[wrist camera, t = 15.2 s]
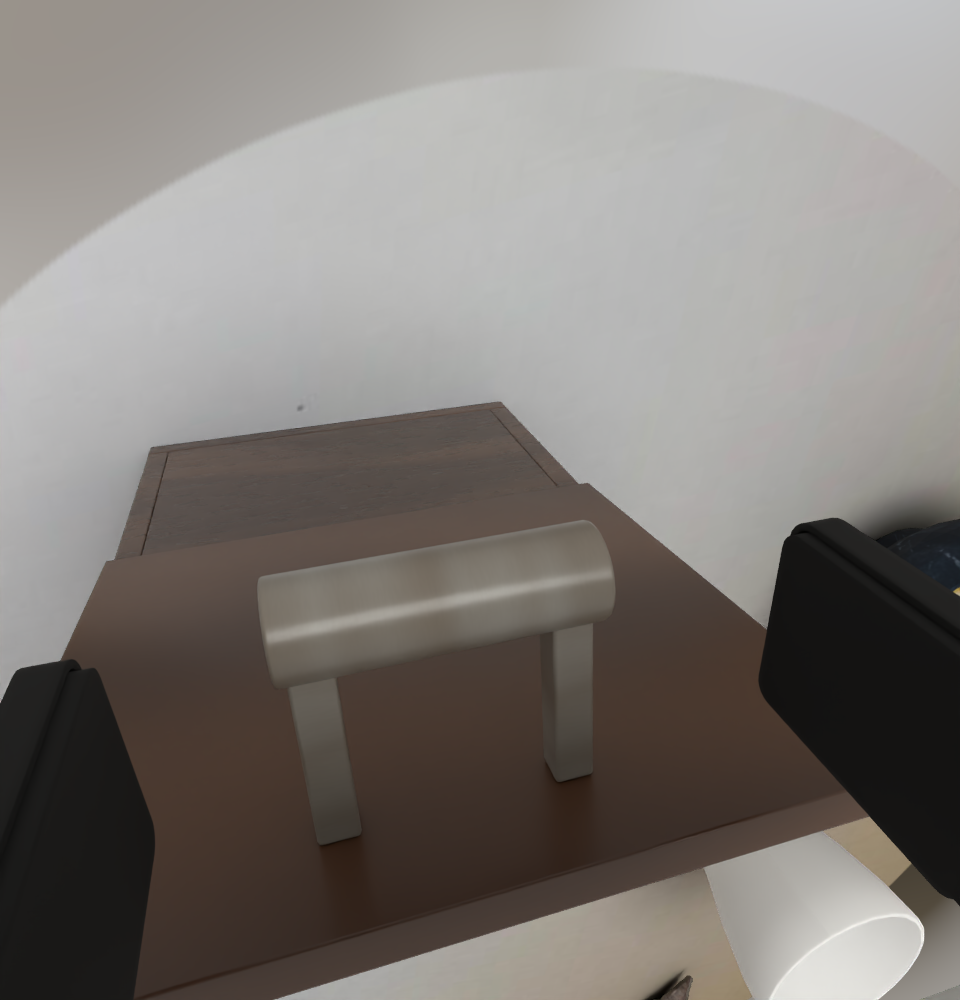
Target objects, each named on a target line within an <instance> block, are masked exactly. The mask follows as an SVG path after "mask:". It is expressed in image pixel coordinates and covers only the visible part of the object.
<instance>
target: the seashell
mask: <svg viewBox="0 0 960 1000" xmlns="http://www.w3.org/2000/svg"><path fill="white" fill-rule="evenodd" d="M692 982H693V978H692V977H691V976H686V977H685V978H684V979H683V980H682V981H680V982H679V983H678V984H677V985H676V986H675V987H673V989H671V991H670V992H669V993H666V994H665V995H663V997H662V998H661V999H653V1000H688V996H689V991H690V987H691V983H692Z"/></svg>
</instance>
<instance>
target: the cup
mask: <svg viewBox="0 0 960 1000" xmlns="http://www.w3.org/2000/svg"><path fill="white" fill-rule="evenodd" d="M704 870H705V872H706V875H707V878H708V881H709V883H710V887H711V890H712V893H713V896H714V900H715V903H716V906H717V909H718V913H719V916H720V919H721V922H722V925H723V928H724V930H725V933H726V935H727V938H728V940H729V943H730V945H731V948H732V951H733V953H734V956H735V958H736V961H737V963H738V966H739V968H740V971H741V974H742V976H743V979H744V980H745V982H746V984H747V986H748V988H749V990H750V992H751V994H752V996H753V998H754V1000H878V999H879V998H881V997H882V996H883V995H884V994H885V993H886V992H888V991H889V990H890V989H891V988H892V987H893V986H894V985H896V983H897V982H898V981H899V980H900V979H901V978H902V977H903V976H904V975H905V974H906V973H907V971H908V970H909V969H910V967H911V966H912V964H913V963H914V961H915V960H916V958H917V957H918V955H919V953H920V950H921V948H922V945H923V942H924V927H923V925H922V924H921V922H920V920H919V918H918V917H917V916H916V915H915V914H914V913H913V912H912V911H911V910H910V909H909V908H908V907H907V906H906V905H905V904H904V903H903V902H902V901H901V900H900V899H899V898H898V897H897V896H896V895H895V894H894V893H893V891H891V889H890V888H889V887H888V886H887V885H886V884H885V883H884V882H883V881H882V880H881V879H879V878H878V877H877V876H876V875H875V874H874V873H872V872H871V871H870V870H869V869H868V868H867V867H865V866H864V865H863V864H862V863H861V862H860V861H858V860H857V859H856V858H855V857H854V856H853V855H851V854H850V853H849V852H848V851H847V850H846V849H844V848H843V847H842V846H841V845H840V844H839V843H837V842H836V841H835V840H833V839H832V838H831V837H829V836H828V835H827V834H825V833H824V832H823V831H821V832H817V833H814V834H811V835H808V836H804V837H801V838H798V839H795V840H791V841H788V842H785V843H782V844H778V845H775V846H772V847H769V848H765V849H762V850H759V851H756V852H752V853H749V854H746V855H743V856H739V857H736V858H733V859H730V860H726V861H723V862H720V863H717V864H713V865H710V866H707V867H704Z"/></svg>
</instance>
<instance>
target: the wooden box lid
mask: <svg viewBox="0 0 960 1000" xmlns="http://www.w3.org/2000/svg"><path fill="white" fill-rule="evenodd" d="M766 633H767V629H765V628H764V627H763V626H762V625H760V624H759V623H758V622H757V621H756V620H754V619H753V618H752V617H751V616H749V615H748V614H747V613H746V612H745V611H743V610H742V609H741V608H740V607H739V606H737V605H736V604H735V603H734V602H732V601H731V600H730V599H729V598H728V597H726V596H725V595H724V594H723V593H721V592H720V591H719V590H718V589H717V588H715V587H714V586H713V585H712V584H710V583H709V582H708V581H707V580H706V579H704V578H703V577H702V576H701V575H699V574H698V573H697V572H696V571H695V570H693V569H692V568H691V567H690V566H689V565H687V564H686V563H685V562H684V561H682V560H681V559H680V558H679V557H678V556H676V555H675V554H674V553H673V552H671V551H670V550H669V549H668V548H667V547H665V546H664V545H663V544H662V543H660V542H659V541H658V540H657V539H656V538H654V537H653V536H652V535H651V534H650V533H648V532H647V531H646V530H645V529H643V528H642V527H641V526H640V525H639V524H637V523H636V522H635V521H634V520H632V519H631V518H630V517H629V516H628V515H626V514H625V513H624V512H623V511H621V510H620V509H619V508H618V507H617V506H615V505H614V504H613V503H612V502H611V501H609V500H608V499H607V498H606V497H604V496H603V495H602V494H601V493H600V492H598V491H597V490H596V489H595V488H593V487H592V486H591V485H590V484H589V483H584V484H578V485H571V486H565V487H559V488H553V489H547V490H541V491H535V492H529V493H522V494H516V495H510V496H504V497H498V498H492V499H486V500H480V501H473V502H467V503H461V504H455V505H449V506H443V507H437V508H431V509H424V510H418V511H412V512H406V513H400V514H394V515H388V516H382V517H375V518H369V519H363V520H357V521H351V522H345V523H339V524H333V525H326V526H320V527H314V528H308V529H302V530H296V531H290V532H283V533H277V534H271V535H265V536H259V537H253V538H247V539H241V540H234V541H228V542H222V543H216V544H210V545H204V546H198V547H192V548H185V549H179V550H173V551H167V552H161V553H155V554H149V555H143V556H136V557H130V558H124V559H118V560H112V561H107V562H106V563H105V565H104V567H103V569H102V571H101V574H100V576H99V578H98V580H97V582H96V584H95V587H94V589H93V591H92V593H91V595H90V597H89V600H88V602H87V604H86V606H85V608H84V610H83V613H82V615H81V617H80V619H79V621H78V623H77V626H76V628H75V630H74V632H73V634H72V637H71V639H70V641H69V643H68V645H67V647H66V650H65V652H64V654H63V656H62V658H61V660H60V661H63V660H68V659H73V660H76V661H77V662H78V663H79V665H80V667H81V669H87V668H95V669H96V670H97V671H98V673H99V675H100V677H101V680H102V682H103V685H104V688H105V691H106V693H107V696H108V699H109V702H110V705H111V707H112V710H113V713H114V716H115V718H116V721H117V724H118V727H119V729H120V732H121V735H122V738H123V740H124V743H125V746H126V749H127V751H128V754H129V757H130V760H131V762H132V765H133V768H134V771H135V774H136V776H137V779H138V782H139V785H140V787H141V790H142V793H143V796H144V798H145V801H146V804H147V807H148V809H149V812H150V815H151V818H152V821H153V825H154V831H155V855H154V861H153V868H152V875H151V882H150V889H149V896H148V903H147V910H146V916H145V923H144V930H143V937H142V944H141V951H140V958H139V964H138V971H137V978H136V985H135V992H134V999H133V1000H275V999H278V998H281V997H284V996H288V995H291V994H294V993H297V992H301V991H304V990H307V989H310V988H314V987H317V986H320V985H323V984H327V983H330V982H333V981H336V980H340V979H343V978H346V977H349V976H353V975H356V974H359V973H362V972H366V971H369V970H372V969H375V968H379V967H382V966H385V965H388V964H392V963H395V962H398V961H401V960H405V959H408V958H411V957H414V956H418V955H421V954H424V953H427V952H431V951H434V950H437V949H440V948H444V947H447V946H450V945H453V944H457V943H460V942H463V941H466V940H470V939H473V938H476V937H479V936H483V935H486V934H489V933H492V932H496V931H499V930H502V929H505V928H509V927H512V926H515V925H518V924H522V923H525V922H528V921H531V920H535V919H538V918H541V917H544V916H548V915H551V914H554V913H557V912H561V911H564V910H567V909H570V908H574V907H577V906H580V905H583V904H587V903H590V902H593V901H596V900H600V899H603V898H606V897H609V896H613V895H616V894H619V893H622V892H626V891H629V890H632V889H635V888H639V887H642V886H645V885H648V884H652V883H655V882H658V881H661V880H665V879H668V878H671V877H674V876H678V875H681V874H684V873H687V872H691V871H694V870H697V869H700V868H704V867H707V866H710V865H713V864H717V863H720V862H723V861H726V860H730V859H733V858H736V857H739V856H743V855H746V854H749V853H752V852H756V851H759V850H762V849H765V848H769V847H772V846H775V845H778V844H782V843H785V842H788V841H791V840H795V839H798V838H801V837H804V836H808V835H811V834H814V833H817V832H821V831H824V830H827V829H830V828H834V827H837V826H840V825H843V824H847V823H850V822H853V821H856V820H860V819H863V818H866V817H869V815H868V814H867V813H866V812H865V811H864V810H863V809H862V807H861V806H860V805H859V804H858V803H857V802H856V801H855V800H854V799H853V797H852V796H851V795H850V794H849V793H848V792H847V791H846V790H845V789H844V787H843V786H842V785H841V784H840V783H839V782H838V781H837V780H836V779H835V777H834V776H833V775H832V774H831V773H830V772H829V771H828V770H827V769H826V767H825V766H824V765H823V764H822V763H821V762H820V761H819V760H818V759H817V757H816V756H815V755H814V754H813V753H812V752H811V751H810V750H809V749H808V747H807V746H806V745H805V744H804V743H803V742H802V741H801V740H800V739H799V737H798V736H797V735H796V734H795V733H794V732H793V731H792V730H791V729H790V727H789V726H788V725H787V724H786V723H785V722H784V721H783V720H782V719H781V717H780V716H779V715H778V714H777V713H776V712H775V711H774V710H773V709H772V707H771V706H770V705H769V704H768V703H767V702H766V700H765V699H764V697H763V695H762V693H761V691H760V687H759V682H758V677H759V671H760V665H761V660H762V654H763V649H764V644H765V638H766Z"/></svg>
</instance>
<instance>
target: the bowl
mask: <svg viewBox="0 0 960 1000" xmlns="http://www.w3.org/2000/svg"><path fill="white" fill-rule="evenodd" d="M876 542H878V543H879V544H881V545H882V546H884V547H885V548H887V549H888V550H890V551H891V552H893V553H894V554H896V555H898V556H899V557H901V558H902V559H904V560H905V561H907V562H908V563H910V564H911V565H913V566H914V567H916V568H917V569H919V570H920V571H922V572H924V573H925V574H927V575H928V576H930V577H931V578H933V579H934V580H936V581H937V582H939V583H940V584H942V585H943V586H945V587H946V588H948V589H950V590H951V591H953V592H954V593H956V594H957V595H959V596H960V519H958V520H953V521H948V522H943V523H938V524H936V525H933V526H931V527H928V528H926V529H918V528H910V529H904V530H898V531H895V532H893V533H891V534H889V535H886V536H884V537H882V538H880V539H879V540H877V541H876Z"/></svg>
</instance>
